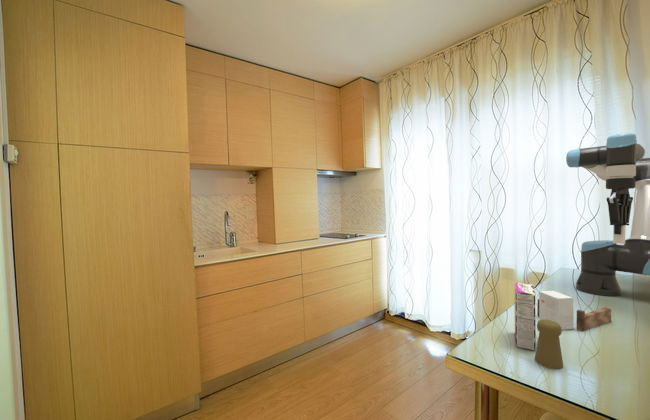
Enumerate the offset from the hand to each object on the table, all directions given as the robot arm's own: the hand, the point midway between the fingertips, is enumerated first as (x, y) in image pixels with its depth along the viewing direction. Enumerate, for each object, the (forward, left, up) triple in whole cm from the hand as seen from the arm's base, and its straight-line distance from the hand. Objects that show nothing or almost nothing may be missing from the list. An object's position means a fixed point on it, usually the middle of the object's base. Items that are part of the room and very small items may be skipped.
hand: (619, 243), depth 106 cm
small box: (+29, -5, -27) cm, 40 cm away
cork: (+56, +8, -27) cm, 63 cm away
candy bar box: (+50, -2, -27) cm, 57 cm away
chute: (+18, -5, -26) cm, 32 cm away
